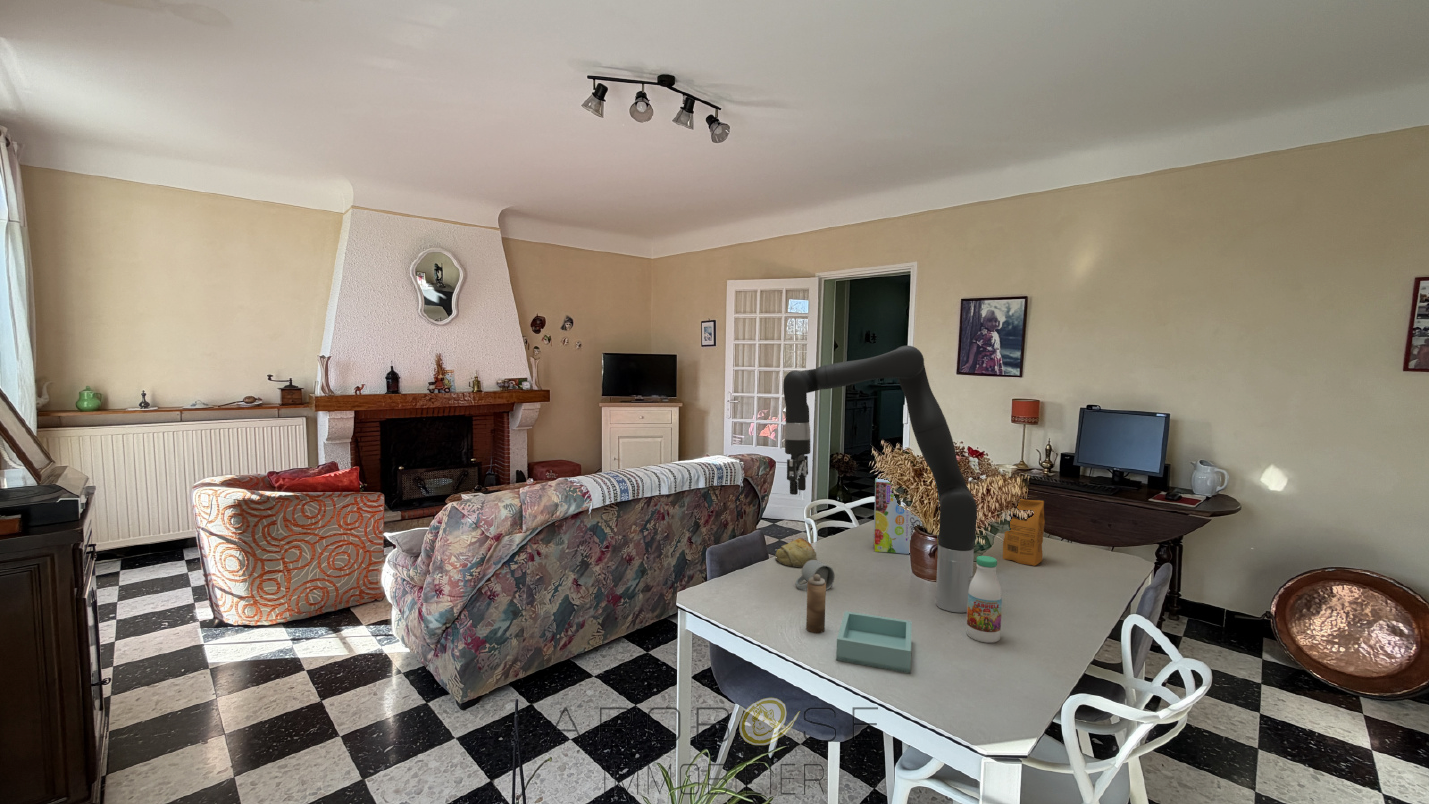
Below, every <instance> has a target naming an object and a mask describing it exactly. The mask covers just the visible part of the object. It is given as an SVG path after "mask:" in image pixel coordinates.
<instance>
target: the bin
mask: <svg viewBox="0 0 1429 804" xmlns="http://www.w3.org/2000/svg"><path fill="white" fill-rule="evenodd" d="M912 624H913V623H912V620H908V619H900V618H895V617H886V616H882V615H881V616H880V615H874V614H867V613H862V612H861V613H860V612H853V611H849V610H848V611H847V610H844V613H843V616H842V619H841V624H840V627H839V631H838V633H837V638H836V653H835V654H836V656H835V660H836V661H839V662H844V663H849V662H850V664H855V665H860V666H868V667H873V668H877V669H884V670H889V671H895V672H900V673H905V674H911V659H912Z"/></svg>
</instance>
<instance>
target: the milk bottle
mask: <svg viewBox="0 0 1429 804" xmlns="http://www.w3.org/2000/svg"><path fill="white" fill-rule="evenodd" d="M997 566H998V560H997V559H996V558H995V557H993V556H989V555H978V556H976V567H977V568H976V571H975V574H974V576H973V579H972V581H971V583H970V586H969V591H968V605H967V612H966V627H965V628H966V634H967V635H968V636H969V638H971V639H972V640H975V641H977V642H982V643H988V644H990V643H997V642H999V641H1000V639H1001V627H1002V610H1003V609H1002V605H1003V604H1002V603H1003V593H1002V591H1003V590H1002V587H1001V584H1000V582H999V579H998V577H997V572H996V570H997Z"/></svg>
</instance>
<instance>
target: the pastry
mask: <svg viewBox="0 0 1429 804" xmlns="http://www.w3.org/2000/svg"><path fill="white" fill-rule="evenodd" d="M774 557H777V558H775V560H776V561H777V562H779V563H780V564H782V565H784V566H787V567H788V566H789V567H797V568H800V567H801V568H803V566H804V564H805V563H806V562H808V561H810V560H817V561H818V557H817V552H816V551H815V549H814V547H813V545H812V544H811V543H810V542H808V541H807V540H805V539H804V538H803V537H799V538H797V539H794V540H791V541H790V542H789V543H786V544H783V545H781V547H780V548H778V549H777V550H776V552H775V555H774Z"/></svg>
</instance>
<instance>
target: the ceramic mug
mask: <svg viewBox="0 0 1429 804" xmlns="http://www.w3.org/2000/svg"><path fill="white" fill-rule="evenodd" d="M815 574H819V575H820V577H821V578H823V579H824V580H825V583H826V591H827V590H829V589H830V588H831V587H832V586H833V585H834V582H835V577H836V576H835V574H836V573H835V571H834V569H833V568H832V567H831V566H830V565H828V564H825V563H823V562H821V561H819V560H818V559H817V560H810V561H808V562H806V563H805V564H804V566H803V567H801V576H799V577H798V578H796V580H795V585H796V587H797V589H798V590H802V591H803V590H807V583H808V581H809V578H811V577H813V576H814V575H815ZM803 581H806V583H803V584H800V583H802V582H803Z"/></svg>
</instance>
